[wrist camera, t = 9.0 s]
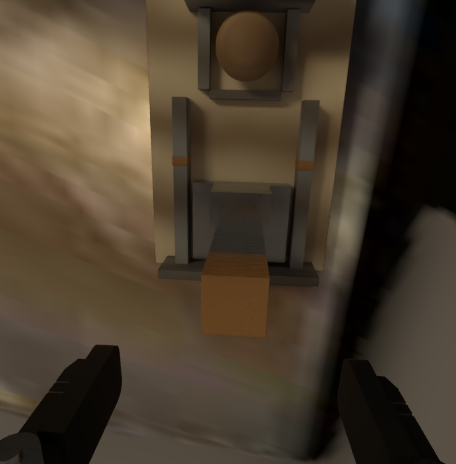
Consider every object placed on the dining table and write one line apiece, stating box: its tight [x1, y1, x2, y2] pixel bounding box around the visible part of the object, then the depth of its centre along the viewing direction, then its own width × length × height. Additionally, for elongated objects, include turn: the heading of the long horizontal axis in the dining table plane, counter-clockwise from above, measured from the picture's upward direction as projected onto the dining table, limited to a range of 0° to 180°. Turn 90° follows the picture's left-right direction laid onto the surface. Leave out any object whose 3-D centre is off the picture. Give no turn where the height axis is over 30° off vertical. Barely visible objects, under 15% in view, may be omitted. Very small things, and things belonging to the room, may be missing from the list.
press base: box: [145, 0, 356, 287], centre depth 23 cm, size 22×14×7 cm, turn 178°
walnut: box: [216, 9, 279, 82], centre depth 21 cm, size 4×4×4 cm
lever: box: [193, 180, 291, 337], centre depth 21 cm, size 6×7×11 cm
